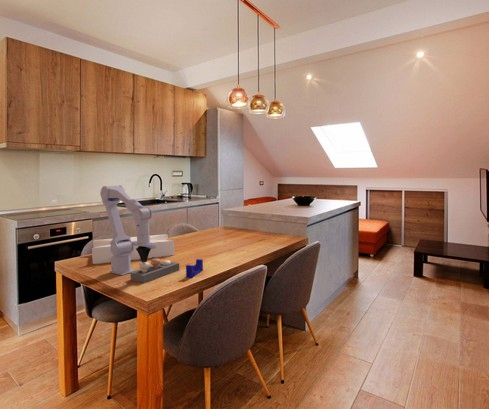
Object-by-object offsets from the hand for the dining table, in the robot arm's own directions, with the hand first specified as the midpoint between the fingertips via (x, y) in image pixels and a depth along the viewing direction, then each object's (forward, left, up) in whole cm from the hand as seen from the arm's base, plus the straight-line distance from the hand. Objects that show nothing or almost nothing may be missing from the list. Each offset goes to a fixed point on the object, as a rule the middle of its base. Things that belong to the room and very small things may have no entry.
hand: (144, 262), depth 148 cm
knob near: (0, 0, -5) cm, 5 cm away
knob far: (0, +14, -8) cm, 16 cm away
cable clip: (+15, +18, -8) cm, 25 cm away
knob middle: (0, +7, -5) cm, 9 cm away
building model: (-40, +26, -9) cm, 48 cm away
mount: (0, +7, -8) cm, 11 cm away
